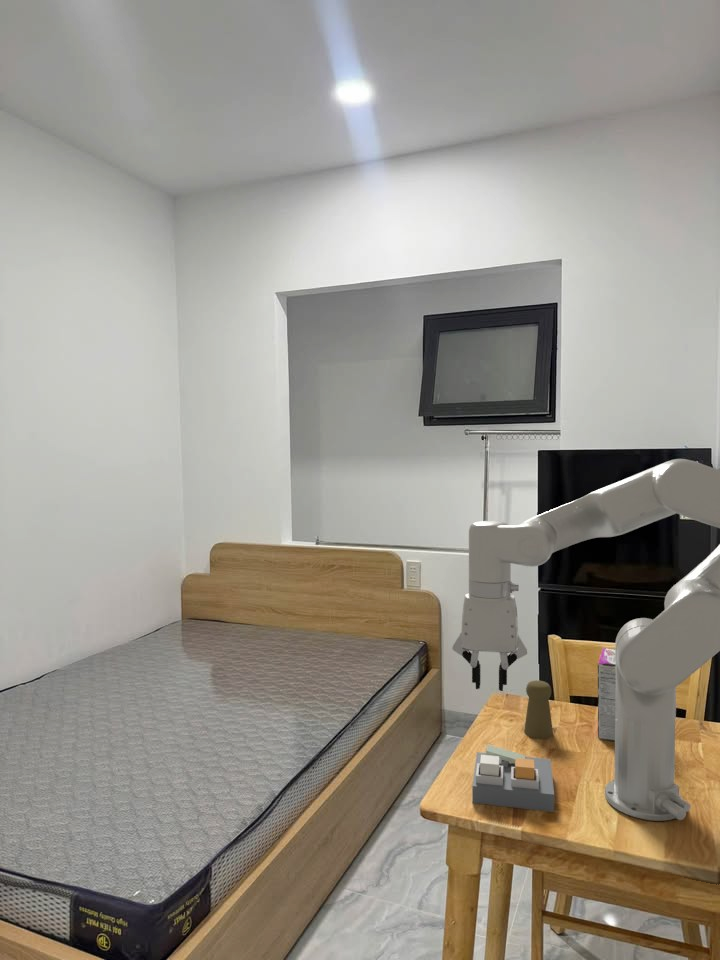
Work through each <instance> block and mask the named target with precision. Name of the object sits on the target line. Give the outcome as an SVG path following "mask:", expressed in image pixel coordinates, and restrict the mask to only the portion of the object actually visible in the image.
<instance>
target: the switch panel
mask: <svg viewBox="0 0 720 960" xmlns="http://www.w3.org/2000/svg"><path fill="white" fill-rule="evenodd" d="M481 755H486V752H476V756H475V764H474V772H473V779H472V787H471V788H472V795H471V796H472V804H480V805H488V806H497V807H504V808H505V807H506V808H516V809H524V810H534V811H543V812H550V813H551V812H553V813H555V788H554V777H553V770H552V769H553V768H552V761H551V758H542V757H541V758H540V757H532V756H525V759H533V760H534V779H524V778H515V764H514V763H511V762H508V761H504V760H501V759H499V776H494V775H484V774H480V759H481Z"/></svg>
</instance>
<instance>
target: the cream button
mask: <svg viewBox="0 0 720 960" xmlns="http://www.w3.org/2000/svg"><path fill="white" fill-rule="evenodd" d="M480 774H484V775H494V776H499V756H490V755H481V759H480Z"/></svg>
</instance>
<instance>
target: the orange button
mask: <svg viewBox="0 0 720 960" xmlns="http://www.w3.org/2000/svg"><path fill="white" fill-rule="evenodd" d="M515 778H524V779H534V760H533V759H522V758H515Z"/></svg>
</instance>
